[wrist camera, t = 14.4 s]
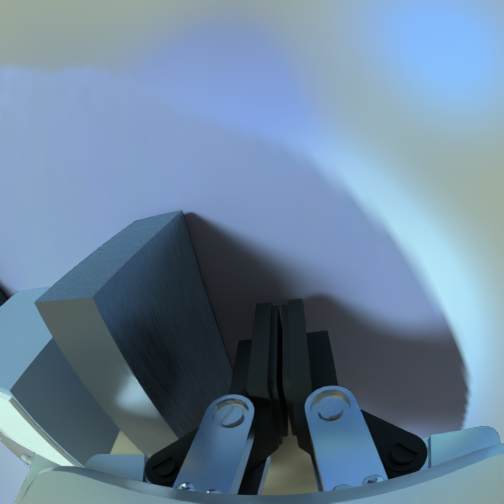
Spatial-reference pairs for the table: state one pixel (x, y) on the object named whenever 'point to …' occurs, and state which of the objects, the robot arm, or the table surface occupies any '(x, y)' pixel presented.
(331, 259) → the table surface
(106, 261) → the bookend
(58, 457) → the pale grey block
